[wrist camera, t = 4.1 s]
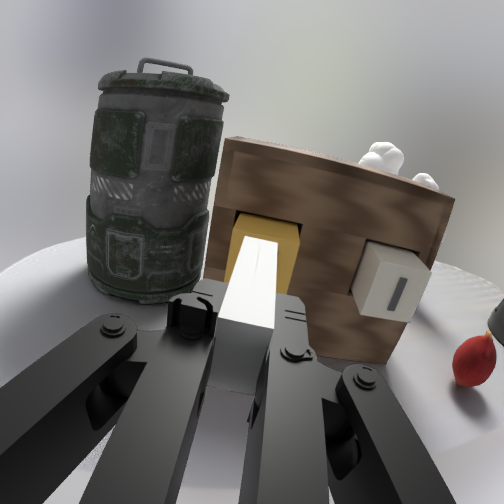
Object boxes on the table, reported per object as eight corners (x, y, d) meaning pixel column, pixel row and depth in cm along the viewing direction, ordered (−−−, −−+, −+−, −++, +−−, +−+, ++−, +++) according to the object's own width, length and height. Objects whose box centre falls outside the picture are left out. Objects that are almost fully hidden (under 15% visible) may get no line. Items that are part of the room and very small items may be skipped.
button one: (394, 296, 30) (412, 251, 28) (410, 324, 25) (432, 273, 23) (350, 287, 30) (366, 239, 28) (360, 316, 25) (381, 261, 23)
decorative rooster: (311, 240, 68) (338, 128, 58) (370, 248, 71) (399, 148, 62) (361, 303, 45) (412, 142, 36) (431, 305, 49) (479, 172, 39)
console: (371, 326, 40) (422, 183, 32) (385, 364, 32) (455, 199, 25) (211, 295, 40) (237, 136, 32) (196, 331, 33) (224, 138, 25)
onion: (481, 387, 29) (513, 338, 26) (467, 407, 26) (504, 353, 23) (451, 364, 33) (480, 314, 30) (434, 380, 30) (466, 326, 27)
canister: (160, 244, 52) (183, 74, 41) (223, 287, 43) (263, 73, 32) (73, 262, 40) (86, 60, 29) (119, 323, 31) (142, 39, 20)
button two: (284, 274, 30) (297, 223, 28) (284, 302, 26) (300, 243, 24) (231, 263, 30) (240, 212, 28) (222, 289, 26) (232, 229, 24)
